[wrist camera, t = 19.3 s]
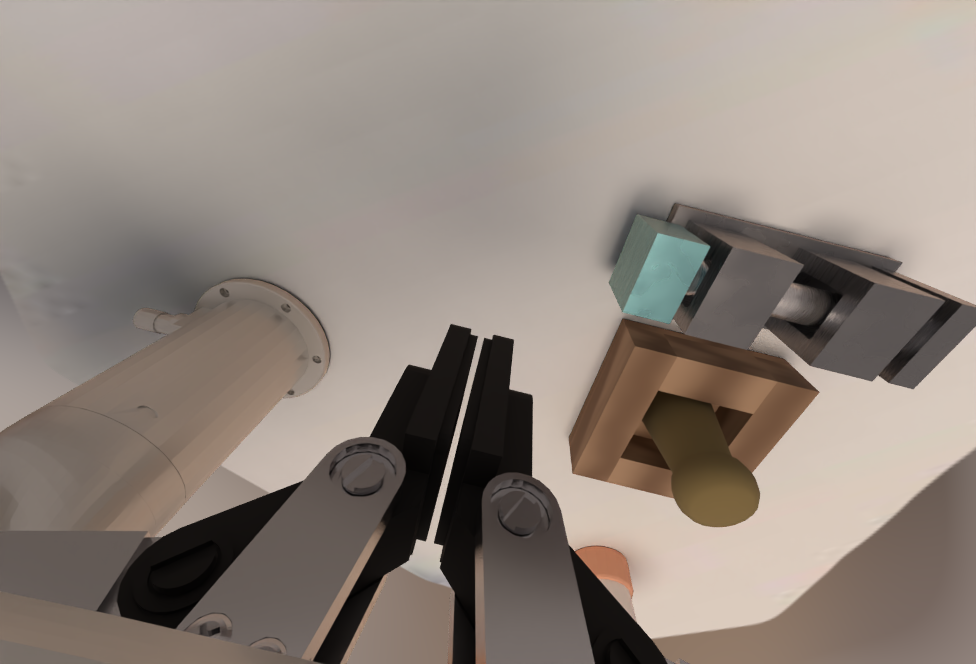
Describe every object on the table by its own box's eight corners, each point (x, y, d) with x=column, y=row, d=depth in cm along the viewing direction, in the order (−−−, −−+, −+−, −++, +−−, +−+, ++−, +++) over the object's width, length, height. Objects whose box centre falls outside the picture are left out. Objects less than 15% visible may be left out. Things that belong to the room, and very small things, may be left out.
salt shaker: (574, 541, 46) (596, 777, 30) (634, 551, 46) (691, 795, 29) (562, 574, 50) (576, 802, 33) (618, 584, 50) (661, 818, 33)
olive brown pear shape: (688, 362, 32) (755, 465, 22) (719, 410, 34) (792, 523, 24) (623, 394, 34) (657, 500, 24) (655, 437, 36) (698, 551, 26)
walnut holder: (568, 437, 38) (572, 473, 35) (622, 318, 32) (635, 346, 28) (702, 470, 39) (721, 509, 35) (784, 359, 32) (819, 392, 28)
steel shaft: (608, 282, 28) (622, 312, 23) (636, 214, 25) (657, 232, 21) (832, 338, 28) (887, 378, 24) (881, 276, 25) (953, 308, 21)
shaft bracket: (634, 291, 30) (663, 340, 24) (674, 203, 27) (722, 229, 20) (826, 339, 31) (910, 401, 24) (890, 258, 27) (1009, 302, 20)
